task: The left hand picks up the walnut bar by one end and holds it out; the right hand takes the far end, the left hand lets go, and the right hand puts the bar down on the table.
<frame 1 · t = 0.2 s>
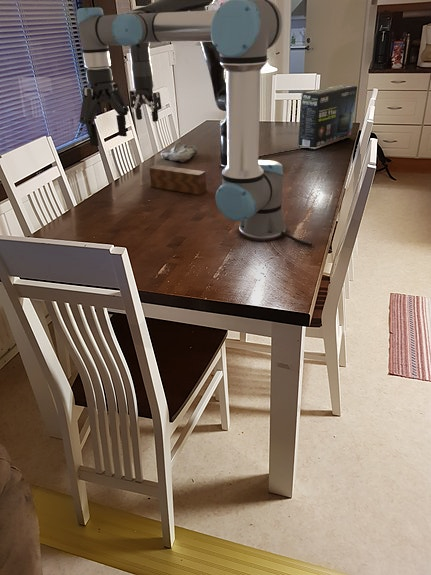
left hand: (147, 120, 176), 27 cm above the table, tool pointing down, fingers open, 8 cm apart
right hand: (109, 140, 148), 28 cm above the table, tool pointing down, fingers open, 13 cm apart
router box: (325, 143, 245), on the table
bar: (178, 188, 190), on the table
fossil: (178, 158, 230), on the table
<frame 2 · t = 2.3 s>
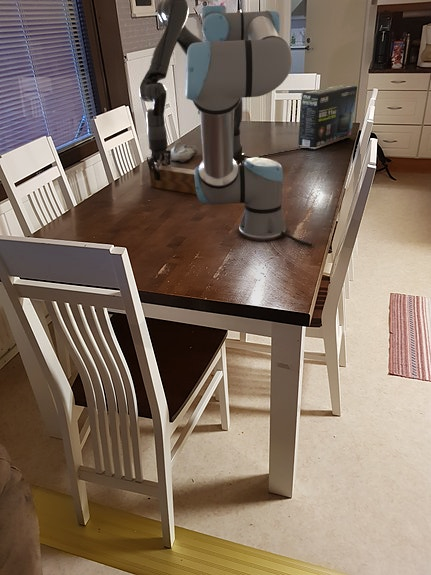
left hand: (161, 178, 191), 4 cm above the table, tool pointing down, fingers closed on bar, 5 cm apart
right hand: (218, 131, 156), 27 cm above the table, tool pointing down, fingers open, 13 cm apart
bar: (178, 188, 190), on the table, touching left hand
everything else where it was.
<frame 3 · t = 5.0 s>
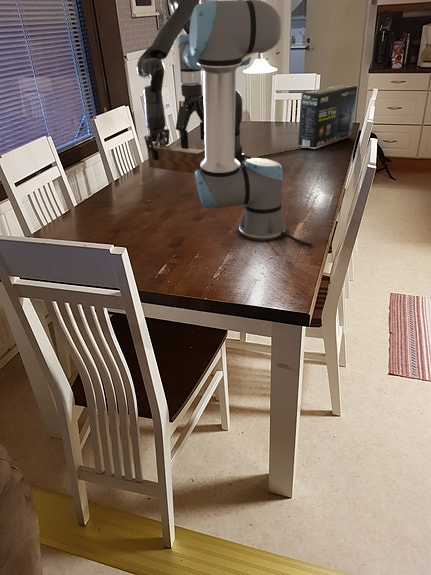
left hand: (159, 158, 187), 12 cm above the table, tool pointing down, fingers closed on bar, 5 cm apart
right hand: (194, 144, 175), 19 cm above the table, tool pointing down, fingers open, 13 cm apart
bar: (176, 168, 185), point 8 cm above the table, touching left hand
everything else where it was.
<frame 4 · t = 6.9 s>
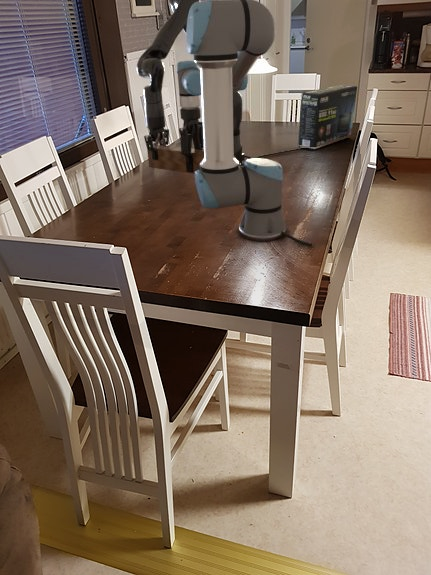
left hand: (159, 158, 187), 12 cm above the table, tool pointing down, fingers closed on bar, 5 cm apart
right hand: (193, 169, 181), 9 cm above the table, tool pointing down, fingers closed on bar, 5 cm apart
bar: (176, 168, 185), point 8 cm above the table, touching right hand, left hand
everything else where it was.
when the left hand's fingers open (12 cm above the table, at t = 7.9 s): bar stays where it is, held by the right hand.
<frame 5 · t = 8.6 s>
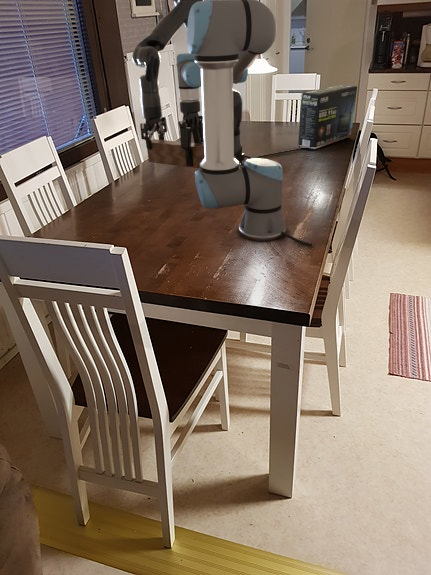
left hand: (156, 146, 185), 16 cm above the table, tool pointing down, fingers open, 8 cm apart
right hand: (193, 163, 180), 11 cm above the table, tool pointing down, fingers closed on bar, 5 cm apart
bar: (176, 163, 184), point 11 cm above the table, touching right hand
everything else where it was.
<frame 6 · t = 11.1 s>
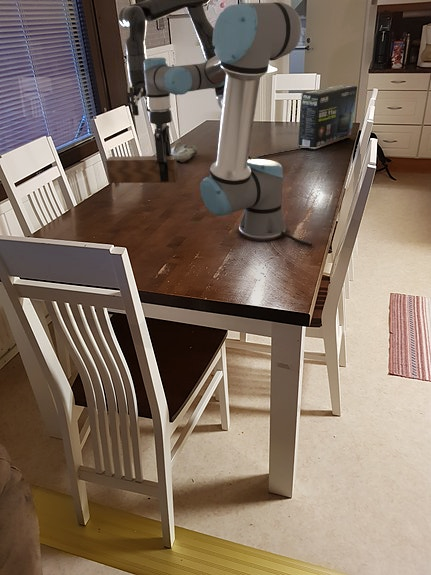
left hand: (142, 113, 181), 29 cm above the table, tool pointing down, fingers open, 8 cm apart
right hand: (166, 178, 164), 12 cm above the table, tool pointing down, fingers closed on bar, 5 cm apart
bar: (143, 180, 165), point 11 cm above the table, touching right hand
everything else where it was.
when the right hand's fingers open (2 cm above the table, at t = 15.3 s): bar drops 2 cm, on the table.
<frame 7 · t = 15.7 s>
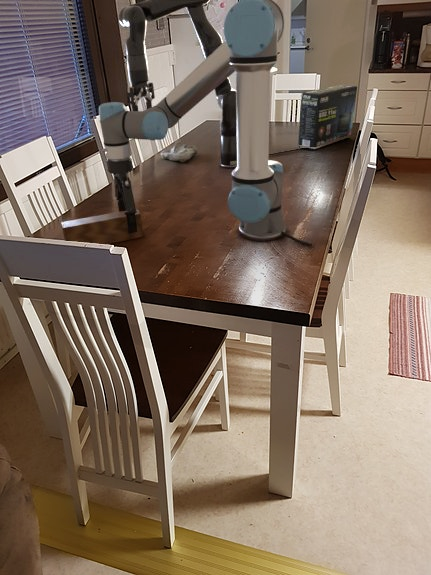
left hand: (142, 113, 181), 29 cm above the table, tool pointing down, fingers open, 8 cm apart
right hand: (128, 225, 149), 4 cm above the table, tool pointing down, fingers open, 11 cm apart
bar: (105, 241, 148), on the table
everything else where it was.
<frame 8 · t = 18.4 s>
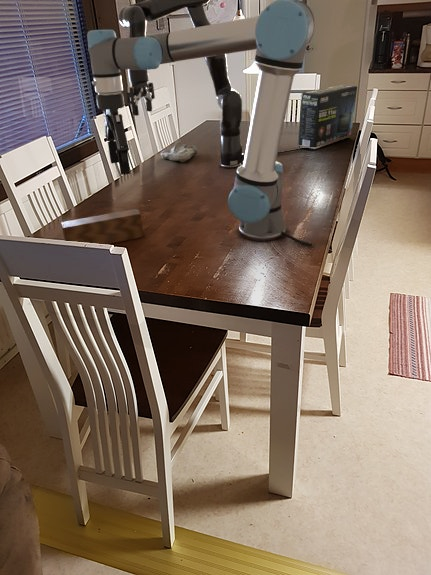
left hand: (142, 113, 181), 29 cm above the table, tool pointing down, fingers open, 8 cm apart
right hand: (120, 168, 139), 23 cm above the table, tool pointing down, fingers open, 13 cm apart
nothing on the table moved.
at the end: bar inside the target area (8.3 cm from its centre), on the table; the left hand is holding nothing; the right hand is holding nothing; bar at rest at the end (0.0 cm/s) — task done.
